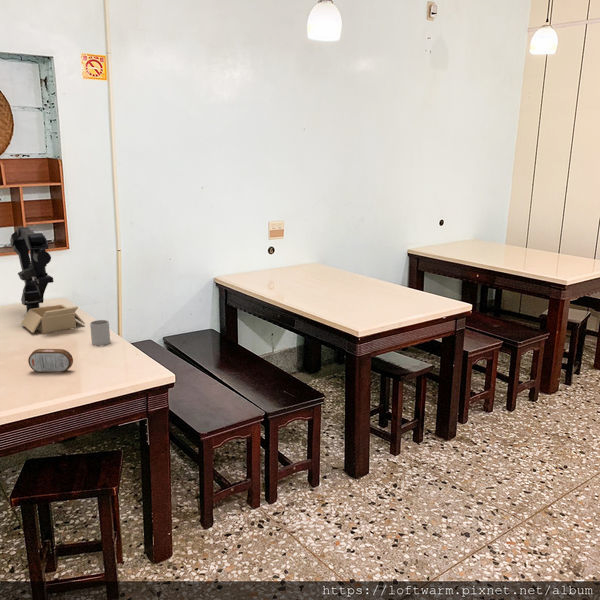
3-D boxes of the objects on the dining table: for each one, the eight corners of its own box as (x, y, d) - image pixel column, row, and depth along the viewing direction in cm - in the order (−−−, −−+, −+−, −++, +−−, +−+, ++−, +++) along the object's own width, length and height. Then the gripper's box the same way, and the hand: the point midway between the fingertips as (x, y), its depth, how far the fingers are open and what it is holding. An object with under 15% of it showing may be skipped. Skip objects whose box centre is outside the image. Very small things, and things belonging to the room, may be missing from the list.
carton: (18, 324, 270) (16, 308, 269) (69, 315, 284) (67, 301, 282) (32, 335, 254) (31, 319, 252) (85, 326, 267) (84, 311, 266)
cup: (95, 347, 240) (93, 326, 238) (87, 340, 248) (85, 320, 245) (112, 344, 244) (111, 323, 242) (104, 337, 252) (103, 317, 249)
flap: (42, 317, 254) (42, 316, 254) (74, 312, 262) (73, 311, 263) (46, 312, 249) (45, 311, 249) (78, 307, 257) (77, 306, 257)
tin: (74, 370, 215) (72, 348, 213) (71, 373, 212) (69, 350, 210) (32, 370, 215) (29, 348, 212) (28, 373, 212) (25, 351, 209)
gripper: (12, 261, 266) (16, 295, 270) (25, 266, 252) (29, 302, 256) (38, 258, 273) (41, 291, 277) (52, 263, 259) (55, 298, 263)
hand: (41, 296), depth 268 cm, fingers closed
